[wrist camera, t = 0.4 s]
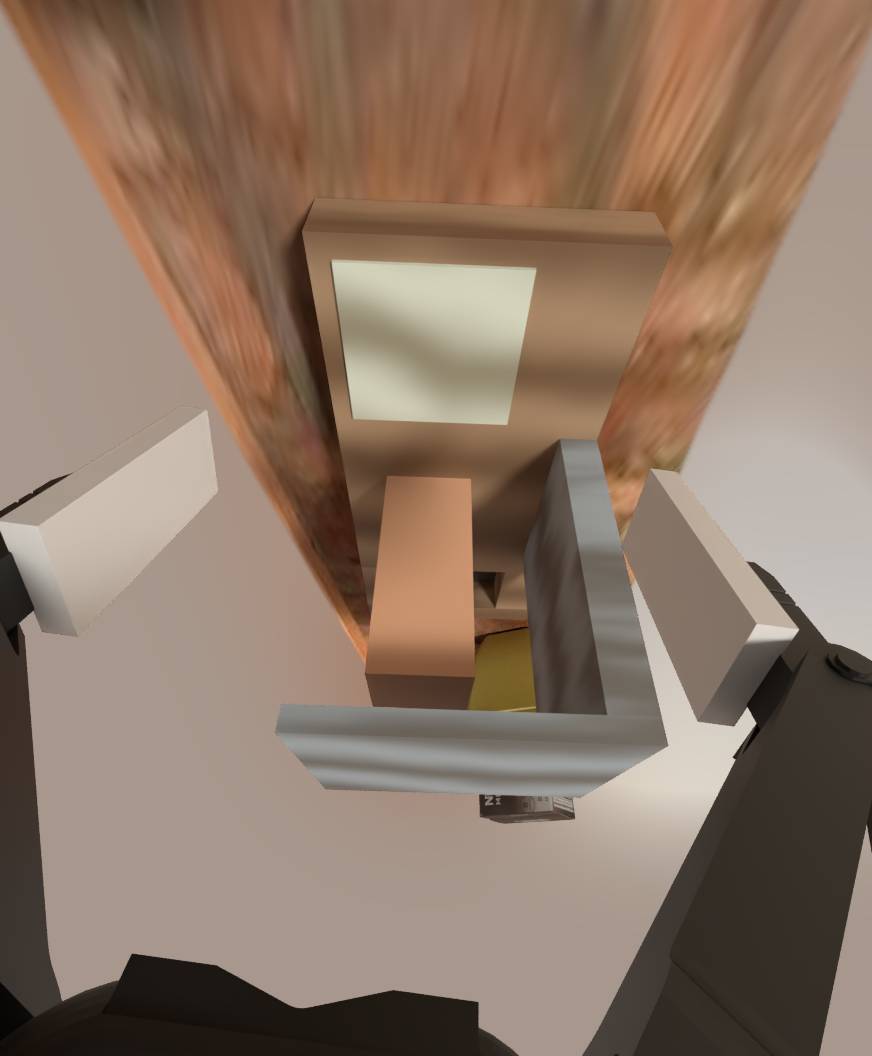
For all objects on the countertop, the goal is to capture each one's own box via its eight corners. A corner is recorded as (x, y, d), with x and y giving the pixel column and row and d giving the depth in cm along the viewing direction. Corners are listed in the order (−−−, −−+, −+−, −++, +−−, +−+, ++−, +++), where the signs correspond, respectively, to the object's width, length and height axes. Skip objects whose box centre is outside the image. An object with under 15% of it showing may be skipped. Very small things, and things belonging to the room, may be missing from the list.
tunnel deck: (315, 197, 21) (155, 599, 10) (654, 211, 21) (874, 624, 10) (372, 585, 46) (346, 812, 36) (523, 590, 47) (543, 819, 36)
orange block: (387, 475, 30) (364, 673, 23) (470, 478, 30) (475, 677, 23) (390, 525, 34) (373, 706, 27) (464, 528, 34) (466, 709, 27)
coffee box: (497, 690, 69) (504, 824, 60) (473, 676, 65) (476, 818, 56) (559, 678, 65) (577, 821, 56) (537, 662, 61) (552, 814, 51)
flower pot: (565, 646, 57) (576, 729, 52) (493, 658, 60) (497, 737, 55) (541, 615, 51) (551, 705, 45) (463, 630, 54) (463, 715, 49)
